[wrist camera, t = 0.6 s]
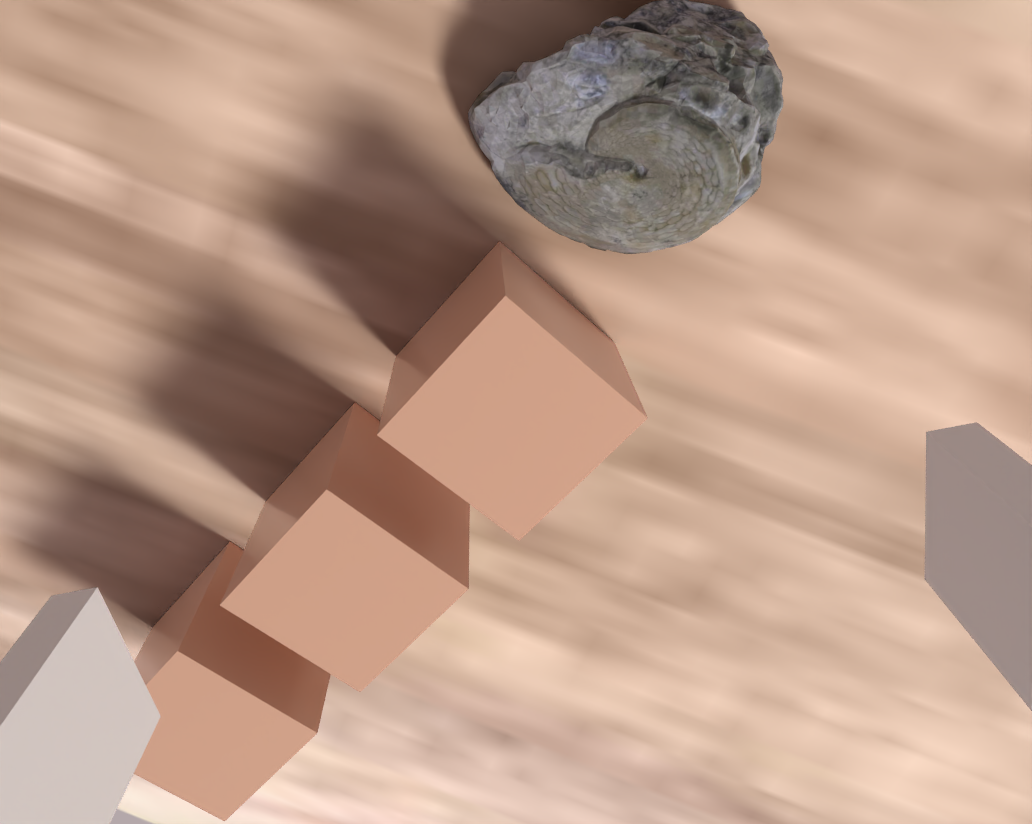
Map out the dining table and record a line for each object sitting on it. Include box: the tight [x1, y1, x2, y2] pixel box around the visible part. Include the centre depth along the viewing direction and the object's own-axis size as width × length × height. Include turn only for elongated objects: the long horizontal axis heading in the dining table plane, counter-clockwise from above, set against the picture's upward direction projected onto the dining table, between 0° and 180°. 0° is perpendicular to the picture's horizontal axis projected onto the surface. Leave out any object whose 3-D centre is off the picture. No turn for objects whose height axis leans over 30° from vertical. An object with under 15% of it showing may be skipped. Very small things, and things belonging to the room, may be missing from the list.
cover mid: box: [220, 403, 470, 692], centre depth 37 cm, size 7×7×8 cm
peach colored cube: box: [377, 241, 647, 540], centre depth 34 cm, size 7×7×8 cm
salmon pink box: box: [134, 542, 330, 821], centre depth 40 cm, size 7×7×8 cm
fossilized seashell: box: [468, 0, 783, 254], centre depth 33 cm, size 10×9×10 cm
